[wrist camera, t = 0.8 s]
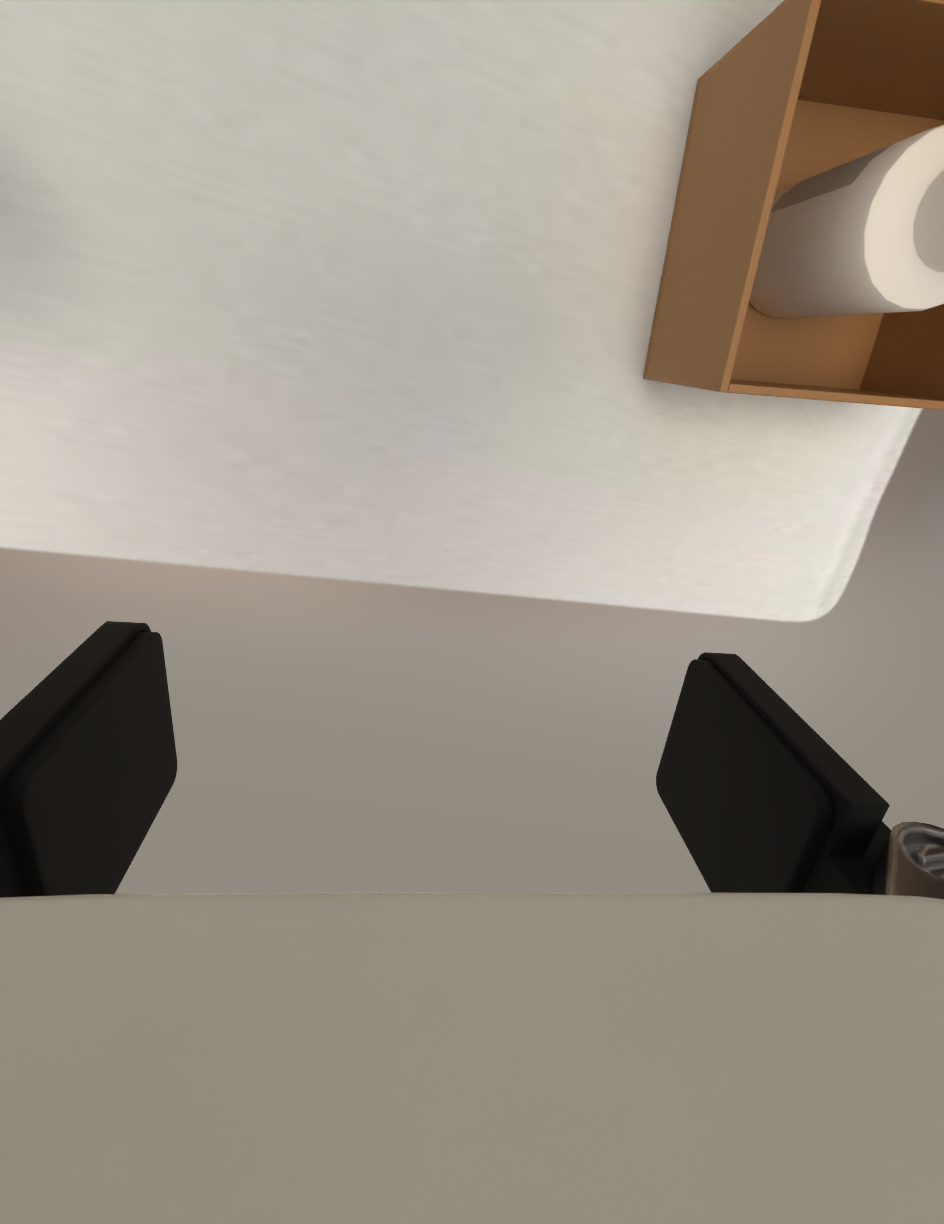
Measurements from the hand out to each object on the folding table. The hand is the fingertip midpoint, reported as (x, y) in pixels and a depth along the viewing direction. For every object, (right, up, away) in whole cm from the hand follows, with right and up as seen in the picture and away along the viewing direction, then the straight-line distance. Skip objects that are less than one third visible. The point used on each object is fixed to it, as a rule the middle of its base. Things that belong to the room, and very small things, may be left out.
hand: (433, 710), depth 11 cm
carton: (+19, +23, +25) cm, 39 cm away
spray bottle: (+19, +23, +24) cm, 39 cm away
